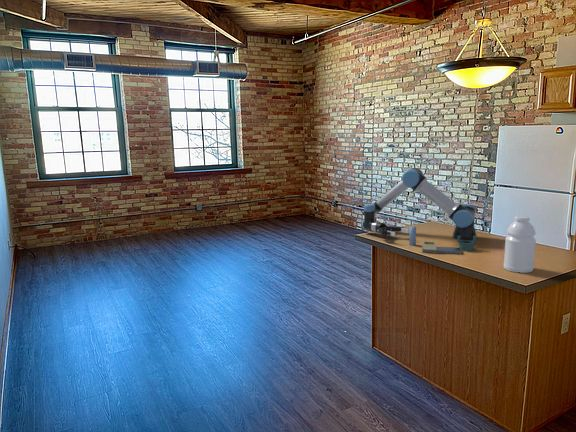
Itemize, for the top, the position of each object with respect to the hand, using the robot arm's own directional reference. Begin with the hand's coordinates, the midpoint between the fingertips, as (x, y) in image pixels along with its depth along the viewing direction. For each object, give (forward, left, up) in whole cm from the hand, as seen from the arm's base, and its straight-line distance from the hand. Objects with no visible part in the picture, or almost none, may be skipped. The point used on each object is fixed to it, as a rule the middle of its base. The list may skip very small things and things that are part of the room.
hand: (401, 232), depth 281 cm
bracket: (-39, +11, -7) cm, 41 cm away
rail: (-24, +19, -6) cm, 31 cm away
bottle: (-61, +46, -7) cm, 77 cm away
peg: (-7, +6, -6) cm, 11 cm away
